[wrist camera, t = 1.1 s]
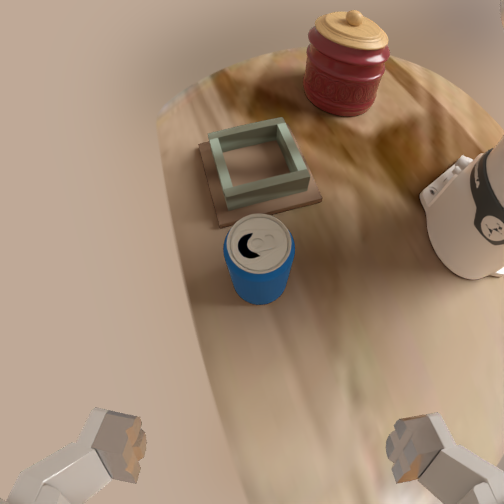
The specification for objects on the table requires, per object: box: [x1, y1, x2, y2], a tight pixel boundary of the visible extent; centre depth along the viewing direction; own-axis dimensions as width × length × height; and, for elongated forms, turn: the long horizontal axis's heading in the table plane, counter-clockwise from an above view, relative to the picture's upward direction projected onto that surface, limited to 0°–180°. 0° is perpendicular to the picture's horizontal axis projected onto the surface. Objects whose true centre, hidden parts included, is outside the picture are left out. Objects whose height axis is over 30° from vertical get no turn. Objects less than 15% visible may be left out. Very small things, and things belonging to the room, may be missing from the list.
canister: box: [303, 10, 390, 116], centre depth 42 cm, size 13×13×18 cm
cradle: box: [198, 117, 322, 228], centre depth 43 cm, size 14×14×4 cm
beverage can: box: [223, 214, 295, 305], centre depth 34 cm, size 6×6×12 cm
